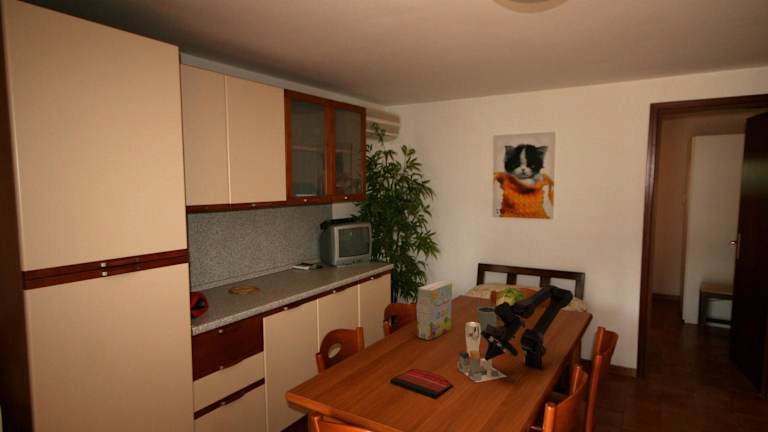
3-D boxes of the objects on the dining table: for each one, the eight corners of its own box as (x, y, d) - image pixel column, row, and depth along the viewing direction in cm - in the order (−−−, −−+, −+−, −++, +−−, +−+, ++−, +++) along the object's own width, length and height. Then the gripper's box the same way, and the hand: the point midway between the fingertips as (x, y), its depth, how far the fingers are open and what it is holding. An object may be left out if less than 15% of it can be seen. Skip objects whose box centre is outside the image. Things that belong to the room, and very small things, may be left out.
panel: (486, 365, 186) (486, 357, 186) (506, 378, 173) (506, 370, 173) (457, 370, 181) (457, 362, 181) (476, 385, 168) (476, 375, 168)
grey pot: (495, 328, 233) (495, 306, 232) (498, 335, 223) (498, 312, 222) (476, 328, 234) (476, 306, 233) (478, 334, 224) (478, 311, 223)
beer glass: (469, 360, 191) (469, 327, 190) (462, 354, 198) (462, 322, 197) (483, 359, 193) (483, 325, 192) (476, 353, 200) (476, 321, 199)
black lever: (464, 366, 181) (464, 350, 181) (468, 369, 178) (468, 353, 178) (459, 366, 181) (459, 351, 180) (463, 370, 177) (463, 354, 177)
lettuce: (488, 319, 250) (488, 292, 248) (505, 308, 271) (505, 283, 270) (514, 323, 241) (514, 296, 240) (529, 312, 262) (530, 286, 261)
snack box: (431, 341, 215) (431, 290, 213) (416, 338, 220) (416, 287, 218) (452, 329, 232) (452, 282, 230) (438, 326, 237) (438, 280, 235)
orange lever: (474, 373, 174) (475, 350, 173) (479, 377, 171) (479, 353, 170) (469, 374, 173) (469, 351, 173) (474, 378, 170) (474, 354, 169)
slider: (488, 366, 182) (488, 357, 182) (491, 369, 180) (491, 359, 180) (480, 368, 181) (480, 358, 181) (483, 370, 179) (483, 361, 178)
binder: (436, 394, 157) (389, 378, 170) (435, 400, 157) (389, 384, 170) (457, 380, 170) (413, 366, 183) (457, 386, 170) (413, 372, 183)
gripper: (484, 310, 183) (461, 339, 180) (512, 323, 165) (487, 356, 162) (499, 326, 186) (477, 355, 183) (528, 341, 169) (504, 373, 166)
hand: (485, 359), depth 173 cm, fingers closed
